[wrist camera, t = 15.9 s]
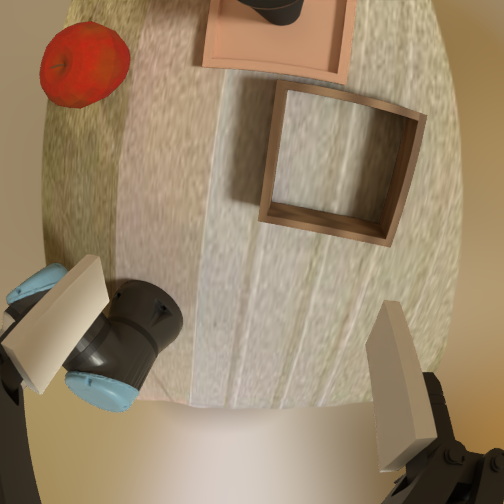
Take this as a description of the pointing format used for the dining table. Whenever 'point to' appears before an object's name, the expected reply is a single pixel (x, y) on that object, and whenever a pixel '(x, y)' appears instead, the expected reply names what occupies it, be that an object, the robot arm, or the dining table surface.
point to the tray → (282, 40)
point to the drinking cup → (276, 10)
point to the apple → (83, 65)
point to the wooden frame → (334, 222)
